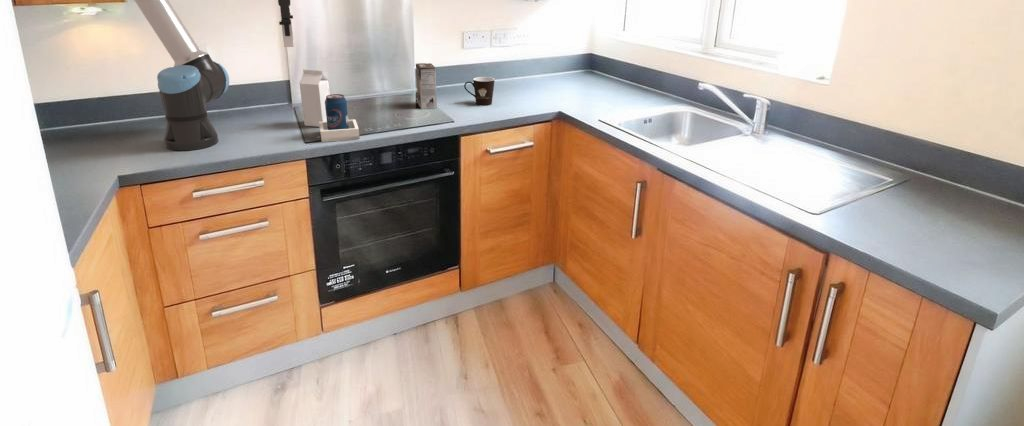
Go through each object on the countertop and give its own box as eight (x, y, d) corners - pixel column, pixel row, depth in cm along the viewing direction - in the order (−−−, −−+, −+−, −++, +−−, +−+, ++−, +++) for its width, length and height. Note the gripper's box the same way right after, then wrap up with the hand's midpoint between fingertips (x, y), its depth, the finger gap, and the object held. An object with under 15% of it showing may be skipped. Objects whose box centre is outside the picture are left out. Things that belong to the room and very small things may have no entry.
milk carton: (323, 127, 210) (317, 72, 202) (304, 126, 212) (297, 71, 204) (332, 122, 217) (327, 68, 209) (314, 120, 218) (308, 67, 210)
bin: (321, 142, 195) (320, 131, 194) (320, 131, 205) (319, 121, 204) (359, 139, 199) (358, 128, 197) (356, 129, 209) (355, 119, 208)
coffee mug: (498, 103, 247) (498, 78, 242) (486, 107, 240) (486, 82, 236) (475, 99, 252) (475, 75, 248) (463, 103, 245) (462, 78, 241)
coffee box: (417, 103, 243) (415, 63, 237) (433, 102, 245) (431, 62, 239) (420, 109, 235) (419, 67, 229) (437, 108, 237) (435, 66, 231)
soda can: (324, 133, 200) (320, 98, 195) (332, 128, 206) (328, 93, 201) (345, 134, 199) (341, 98, 194) (352, 129, 206) (348, 94, 201)
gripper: (294, -27, 172) (302, 49, 181) (293, -31, 194) (300, 37, 202) (266, -27, 170) (275, 50, 178) (268, -32, 191) (276, 37, 200)
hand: (288, 43), depth 190 cm, fingers open, 13 cm apart
